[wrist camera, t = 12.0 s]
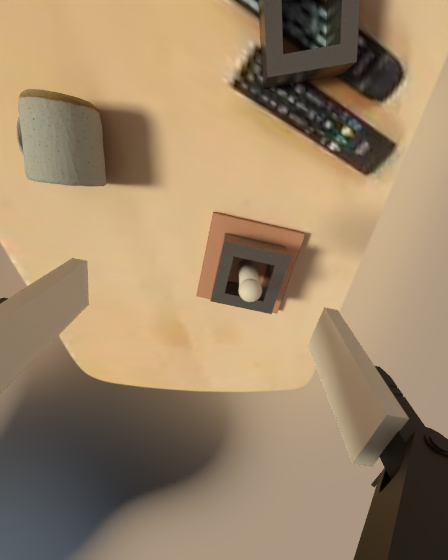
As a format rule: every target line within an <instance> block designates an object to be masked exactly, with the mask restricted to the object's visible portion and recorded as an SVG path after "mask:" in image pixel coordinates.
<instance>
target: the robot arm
mask: <svg viewBox="0 0 448 560" xmlns="http://www.w3.org/2000/svg"><path fill="white" fill-rule="evenodd" d="M88 305H89V300H88V270H87V261H85V260H80V259H75V258H72V259H70V260H69V261H67V262H66V263H64V264H63V265H61V266H59V267H58V268H56V269H55V270H53V271H51V272H50V273H48V274H47V275H45V276H43V277H42V278H40V279H39V280H37V281H36V282H34V283H32V284H31V285H29V286H28V287H26V288H24V289H23V290H21V291H20V292H18V293H17V294H15V295H13V296H12V297H10V298H9V299H8V298H1V299H0V394H1V393H2V392H3V391H4V390H5V389H6V388H7V387H8V386H9V385H10V384H11V383H12V382H13V381H14V380H15V379H16V378H17V377H18V376H19V375H20V374H21V373H22V371H24V370H25V369H26V368H27V367H28V365H29V364H30V363H32V361H33V360H34V359H35V358H36V357H37V356H38V355H39V354H40V353H41V352H42V351H43V350H44V349H45V348H46V347H47V346H48V345H49V344H50V343H51V342H52V341H53V340H54V339H55V338H56V337H57V336H58V335H59V334H60V333H61V332H62V331H63V330H64V329H65V328H66V327H67V326H68V325H69V324H70V323H71V322H72V321H73V320H74V319H75V318H76V317H77V316H78V315H79V314H80V313H81V312H82V311H83V310H84V309H85V308H86V307H87V306H88ZM308 348H309V350H310V353H311V356H312V358H313V361H314V364H315V366H316V369H317V371H318V374H319V377H320V379H321V382H322V385H323V387H324V390H325V393H326V395H327V398H328V400H329V403H330V405H331V408H332V411H333V414H334V416H335V419H336V421H337V424H338V427H339V429H340V432H341V435H342V437H343V440H344V443H345V445H346V448H347V451H348V453H349V456H350V458H351V461H352V463H353V464H359V465H365V466H373V465H374V464H375V462H376V461H377V459H378V458H379V457H380V458H381V461H382V463H383V465H384V467H385V468H384V469H383V471H382V472H381V473H380V474H379V476H378V477H377V478H376V479H375V481H374V482H373V483H372V484H371V485H372V486H373V487H375V486H376V485H377V486H376V489H375V493H374V496H373V499H372V502H371V506H370V509H369V512H368V515H367V518H366V522H365V525H364V528H363V531H362V534H361V537H360V541H359V544H358V547H357V550H356V554H355V557H354V560H448V439H446V438H445V437H444V436H443V435H441V434H440V433H438V432H436V431H434V430H432V429H431V428H427V427H425V426H424V424H423V423H422V421H421V420H420V418H419V417H418V416H417V414H416V413H415V411H414V410H413V409H412V407H411V406H410V404H409V403H408V401H407V400H406V398H405V397H403V394H402V393H401V391H400V390H399V389H398V388H397V386H396V384H395V383H394V381H393V380H392V378H391V377H390V376H389V375H388V374H387V373H386V372H385V371H384V370H383V369H381V368H380V367H377V366H374V365H373V363H372V362H371V360H370V359H369V357H368V356H367V354H366V353H365V351H364V350H363V348H362V347H361V345H360V343H359V342H358V340H357V339H356V337H355V336H354V335H353V333H352V331H351V330H350V328H349V327H348V325H347V324H346V322H345V321H344V319H343V318H342V316H341V315H340V313H339V312H338V310H334V309H329V308H324V309H323V312H322V314H321V316H320V319H319V321H318V323H317V326H316V328H315V330H314V332H313V335H312V337H311V339H310V342H309V344H308Z"/></svg>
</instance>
